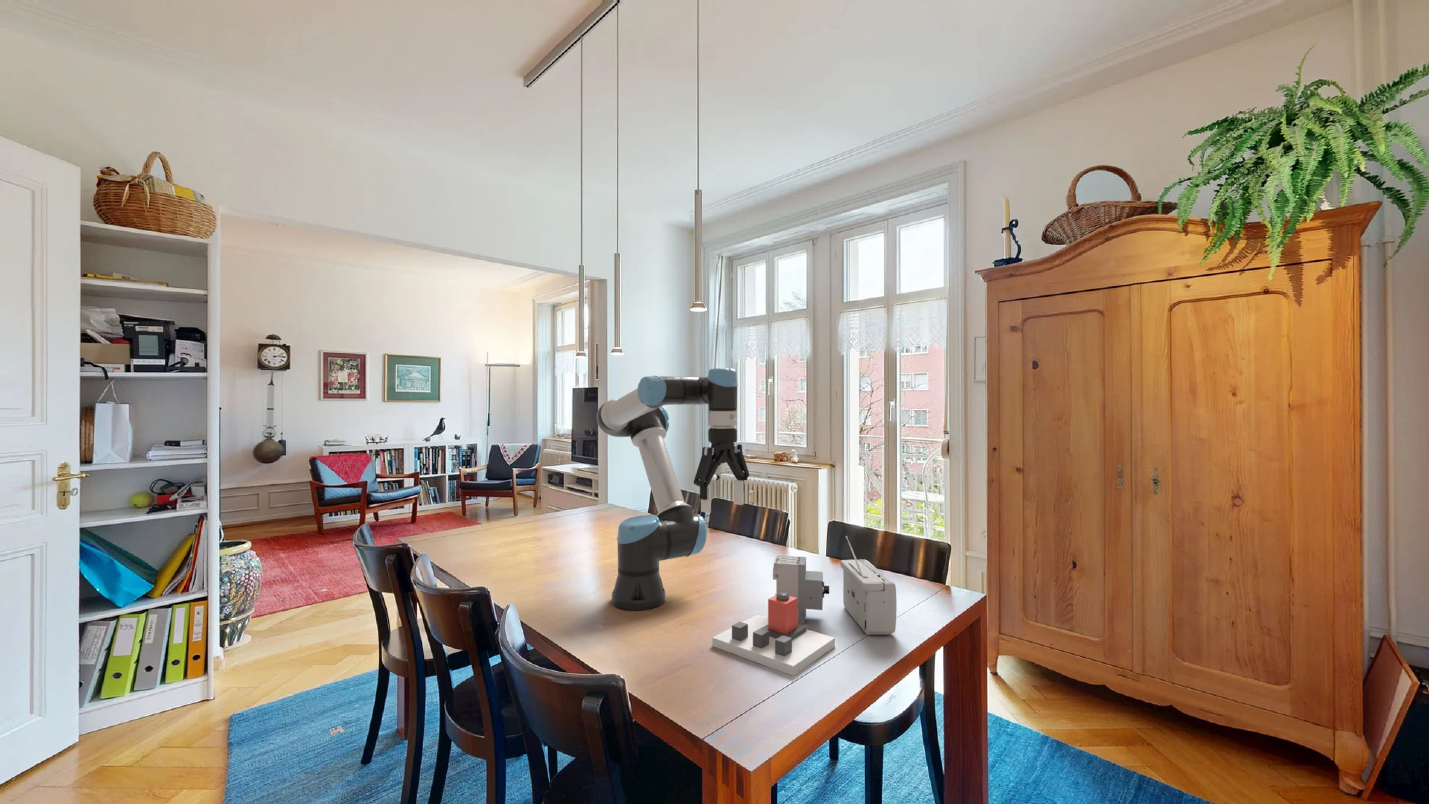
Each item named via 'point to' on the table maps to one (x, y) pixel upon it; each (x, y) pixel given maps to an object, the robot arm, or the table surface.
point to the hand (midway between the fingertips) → (722, 508)
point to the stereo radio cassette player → (869, 596)
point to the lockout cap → (782, 612)
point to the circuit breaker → (799, 583)
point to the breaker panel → (774, 644)
